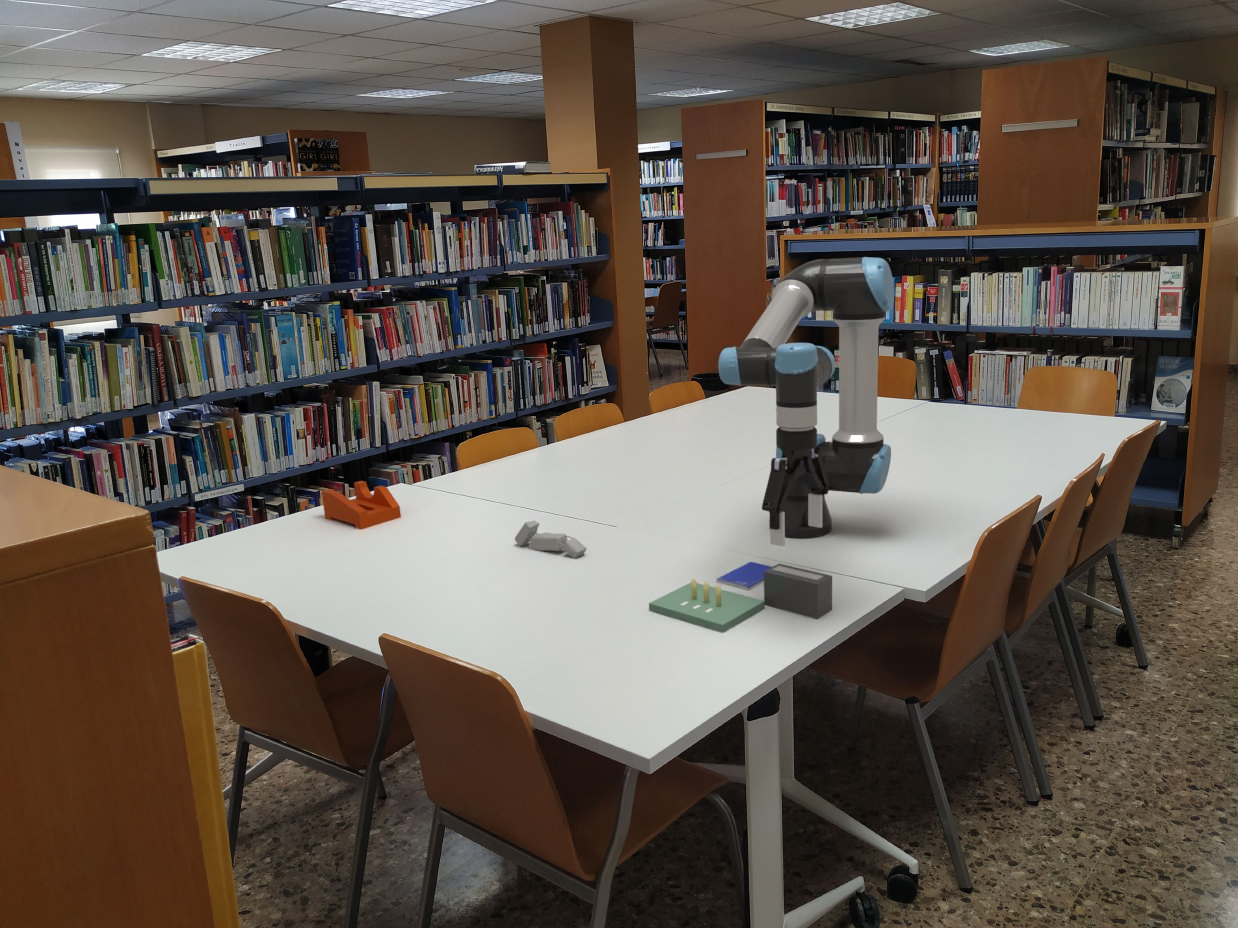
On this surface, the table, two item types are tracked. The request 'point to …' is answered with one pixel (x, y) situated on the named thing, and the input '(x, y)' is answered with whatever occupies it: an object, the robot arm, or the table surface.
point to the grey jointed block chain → (548, 540)
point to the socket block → (798, 590)
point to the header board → (707, 606)
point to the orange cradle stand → (361, 506)
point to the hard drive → (745, 576)
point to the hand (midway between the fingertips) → (796, 535)
